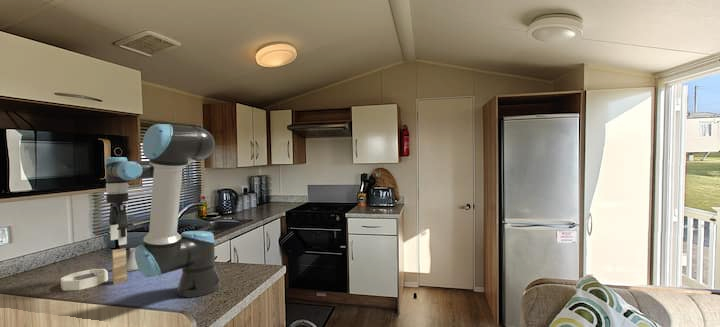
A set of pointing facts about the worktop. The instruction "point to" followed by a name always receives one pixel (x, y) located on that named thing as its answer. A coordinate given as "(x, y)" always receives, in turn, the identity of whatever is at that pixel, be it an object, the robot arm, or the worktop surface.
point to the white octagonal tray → (84, 279)
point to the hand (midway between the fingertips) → (118, 242)
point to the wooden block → (119, 266)
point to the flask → (132, 261)
